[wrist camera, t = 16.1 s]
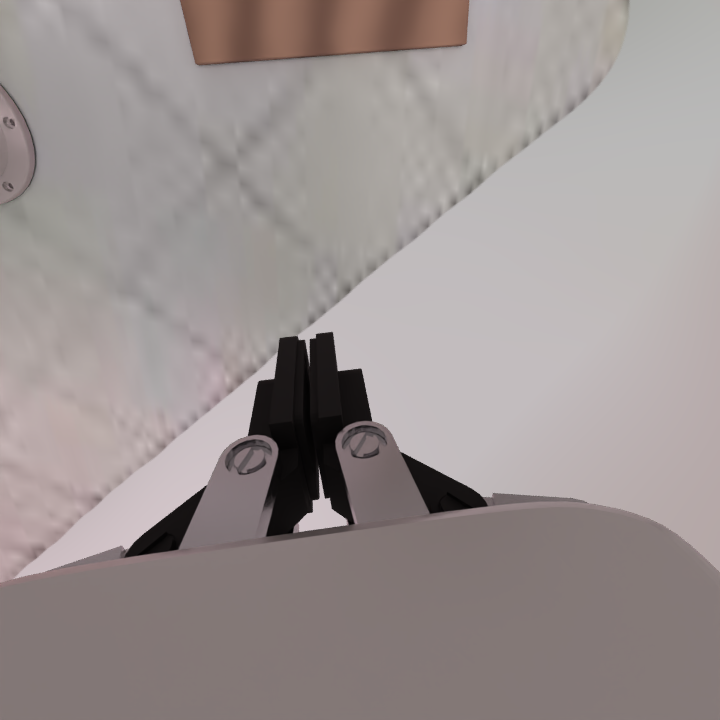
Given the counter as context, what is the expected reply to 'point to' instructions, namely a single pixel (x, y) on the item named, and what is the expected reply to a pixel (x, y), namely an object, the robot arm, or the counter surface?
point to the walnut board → (319, 27)
